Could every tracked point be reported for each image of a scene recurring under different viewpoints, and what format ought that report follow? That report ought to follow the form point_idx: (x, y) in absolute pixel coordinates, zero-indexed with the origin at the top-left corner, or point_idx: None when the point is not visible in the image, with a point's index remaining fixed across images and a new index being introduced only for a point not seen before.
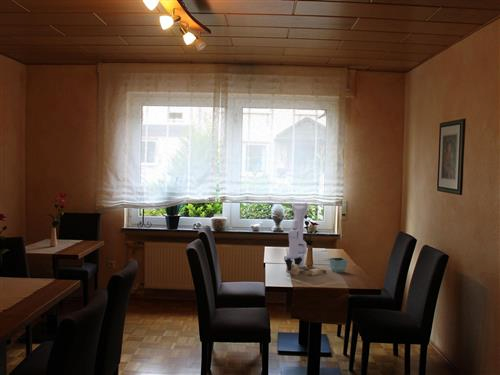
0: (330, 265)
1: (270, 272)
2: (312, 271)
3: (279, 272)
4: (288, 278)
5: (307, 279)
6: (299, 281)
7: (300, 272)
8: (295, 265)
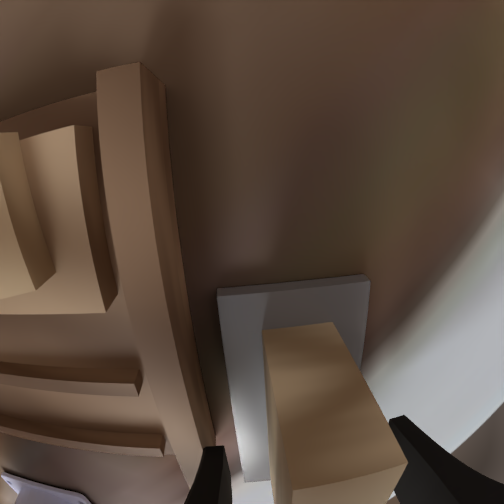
0: None
1: None
2: (10, 183)
3: None
4: (498, 245)
5: (318, 20)
6: (488, 37)
7: (193, 377)
8: (397, 478)
